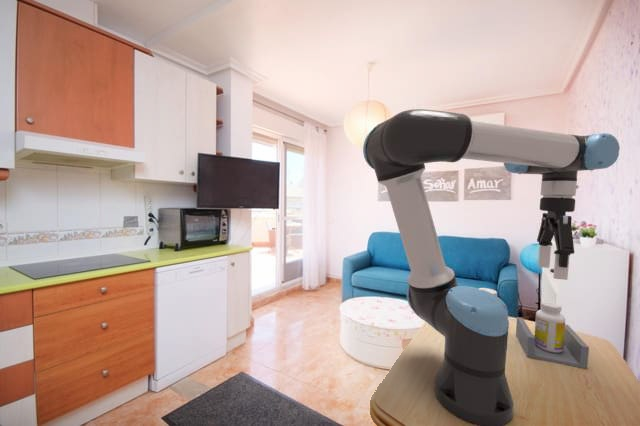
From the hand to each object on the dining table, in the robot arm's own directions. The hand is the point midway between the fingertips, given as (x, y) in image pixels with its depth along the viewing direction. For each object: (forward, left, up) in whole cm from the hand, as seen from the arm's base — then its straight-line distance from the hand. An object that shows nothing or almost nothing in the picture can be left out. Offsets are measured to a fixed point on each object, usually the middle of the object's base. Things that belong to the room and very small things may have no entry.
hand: (551, 272), depth 81 cm
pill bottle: (-15, +2, -23) cm, 28 cm away
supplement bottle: (+1, +1, -23) cm, 22 cm away
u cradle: (+1, +1, -23) cm, 23 cm away
